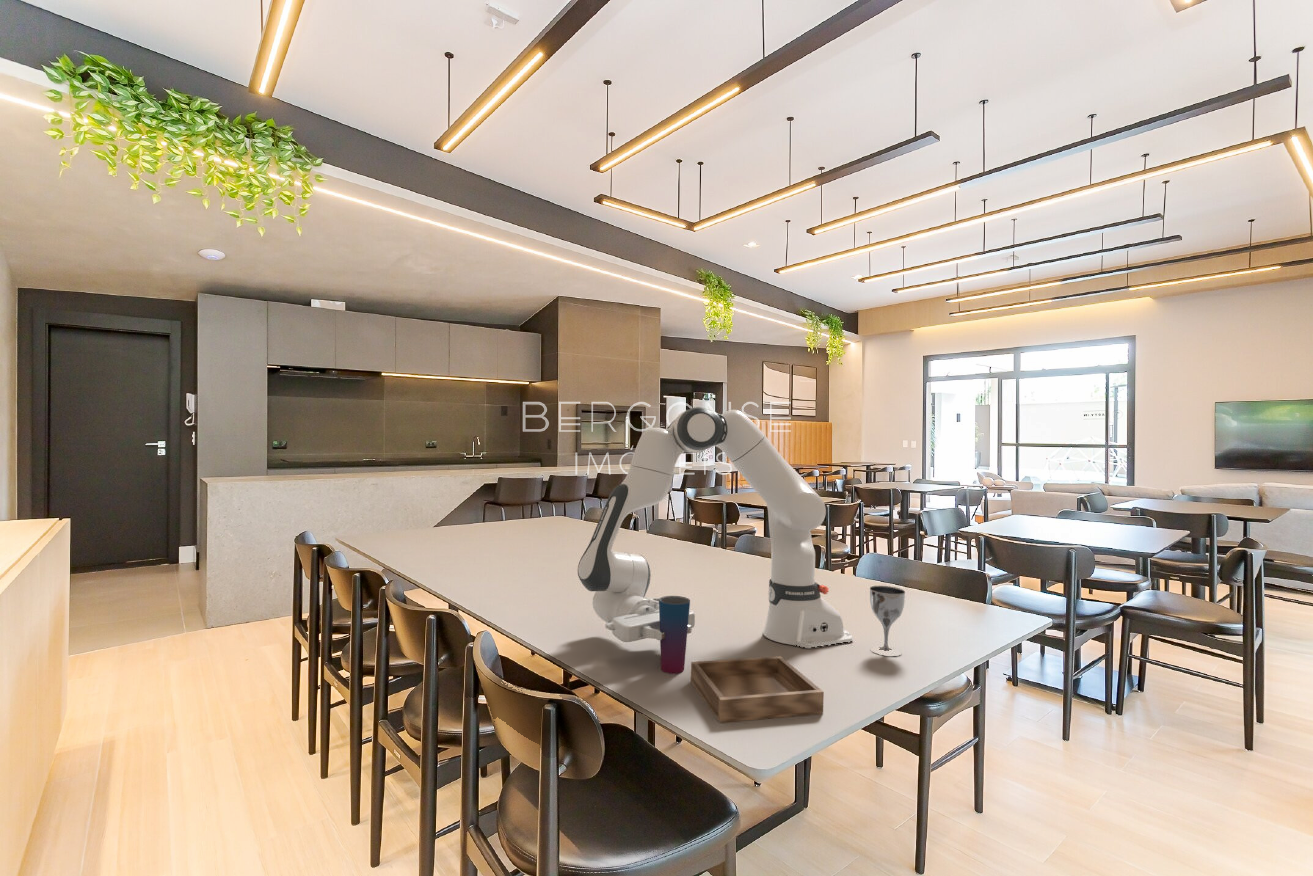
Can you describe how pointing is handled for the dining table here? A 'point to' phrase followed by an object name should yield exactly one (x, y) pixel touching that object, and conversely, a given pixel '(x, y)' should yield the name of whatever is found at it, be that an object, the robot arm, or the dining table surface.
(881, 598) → the wine glass
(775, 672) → the tray
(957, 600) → the dining table surface
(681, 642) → the cup
